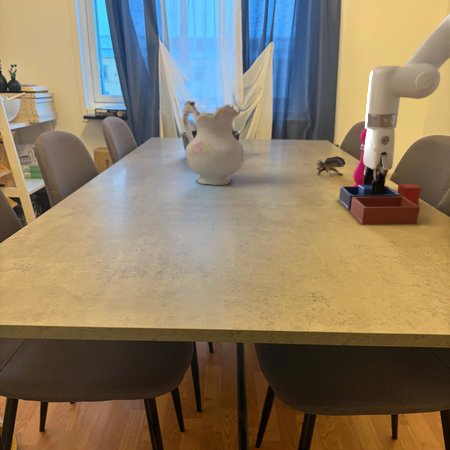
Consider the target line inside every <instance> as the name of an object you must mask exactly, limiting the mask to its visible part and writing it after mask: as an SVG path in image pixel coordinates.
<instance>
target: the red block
mask: <svg viewBox="0 0 450 450" xmlns="http://www.w3.org/2000/svg"><path fill="white" fill-rule="evenodd" d="M421 191H422V187H420V186H419V185H417V184H415V183H399V184H398V187H397V191H396V192H397V193H399V194H400V195H401V196H404V197H405V198H407V199H408V200H410V201H411V202H413V203H414V204H416V205H419V201H420V197H421V196H420V195H421Z"/></svg>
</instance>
